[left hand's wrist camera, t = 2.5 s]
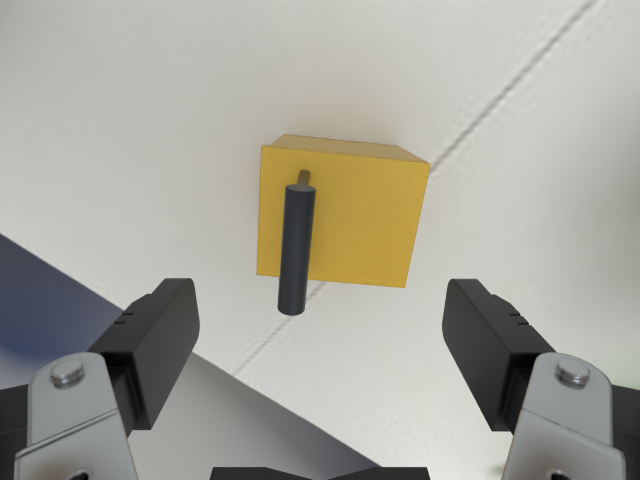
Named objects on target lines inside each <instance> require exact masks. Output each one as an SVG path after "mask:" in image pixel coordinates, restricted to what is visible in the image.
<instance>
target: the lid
mask: <svg viewBox="0 0 640 480" xmlns="http://www.w3.org/2000/svg"><path fill="white" fill-rule="evenodd" d="M430 165H431V164H430V163H428V162H426V161H420V160H410V159H400V158H390V157H381V156H371V155H361V154H351V153H341V152H331V151H321V150H311V149H302V148H292V147H282V146H272V145H263V146H262V147H261V170H260V197H259V223H258V250H257V275H264V276H275V277H279V293H278V310H279V311H280V312H281V313H283V314H285V315H290V316H294V315H299V314H301V313H303V312H304V310H305V301H306V291H307V280H308V279H309V280H320V281H331V282H343V283H354V284H365V285H376V286H388V287H399V288H405V284H406V279H407V275H408V270H409V265H410V260H411V255H412V251H413V246H414V241H415V236H416V232H417V227H418V222H419V217H420V212H421V208H422V203H423V198H424V193H425V189H426V184H427V179H428V174H429V169H430Z"/></svg>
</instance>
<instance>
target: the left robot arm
mask: <svg viewBox="0 0 640 480" xmlns="http://www.w3.org/2000/svg"><path fill="white" fill-rule="evenodd" d="M199 329H200V322H199V314H198V308H197V301H196V294H195V287H194V283H193V280H192V279H190V278H166V279H164V280H163V281H162V282H161V284H160V285H159V286H158V287H157V288H156V289H155V290H154V291H153V293H152V294H146V295H145V296H143V297H141V298H139V299H138V300H136V301H134V302H133V303H131V304H130V306H129V307H128V308H127V309H126V310H125V311H124V312H123V313H122V315H121V316H119V317H118V318H117V319H116V320H115V321H114V324H112V325H111V326H110V327H109V328H108V329H107V330H106V331H105V332H104V333H103V334H102V335H101V336H100V337H99V338H98V340H97V341H96V342H95V343H94V344H93V345H92V346H91V347H90V348H89V349H88V350H87V351H86V352H84V353H77V354H72V355H69V356H65V357H63V358H60V359H58V360H56V361H53V362H52V363H50V364H48V365H47V366H45V367H44V368H42V369H41V370H40V371H38V372H37V373H36V374H35V375H34V376H33V377H32V379H31V380H30V382H29V384H26V385H21V386H17V387H12V388H7V389H2V390H0V480H139V478H138V475H137V471H136V468H135V464H134V461H133V457H132V454H131V450H130V447H129V443H128V440H127V439H128V437H129V435H130V433H131V432H132V430H151V429H152V427H153V425H154V423H155V421H156V419H157V417H158V415H159V413H160V411H161V409H162V408H163V406H164V404H165V402H166V400H167V398H168V396H169V394H170V392H171V390H172V388H173V386H174V384H175V382H176V381H177V379H178V377H179V375H180V373H181V371H182V369H183V367H184V365H185V363H186V361H187V359H188V357H189V355H190V353H191V352H192V350H193V348H194V346H195V344H196V342H197V339H198V336H199ZM442 331H443V337H444V340H445V343H446V345H447V347H448V349H449V350H450V352H451V354H452V356H453V358H454V360H455V362H456V364H457V366H458V368H459V370H460V371H461V373H462V375H463V377H464V379H465V381H466V383H467V385H468V387H469V389H470V391H471V392H472V394H473V396H474V398H475V400H476V402H477V404H478V406H479V408H480V410H481V412H482V413H483V415H484V417H485V419H486V421H487V423H488V425H489V427H490V429H491V431H511V433H512V435H513V440H512V443H511V447H510V450H509V454H508V457H507V461H506V464H505V468H504V471H503V475H502V478H501V480H640V390H635V389H630V388H626V387H621V386H616V385H612V384H611V382H610V380H609V379H608V377H607V376H606V375H605V374H604V373H603V372H602V371H600V370H599V369H598V368H597V367H595V366H594V365H592V364H590V363H588V362H587V361H584V360H582V359H580V358H577V357H575V356H571V355H568V354H563V353H557V352H556V351H555V350H554V349H553V348H552V347H551V346H550V345H549V344H548V343H547V342H546V341H545V339H544V338H543V337H542V336H541V335H540V334H539V333H538V332H537V331H536V330H535V329H534V328H533V327H532V326H531V325H529V323H528V322H527V321H526V319H525V318H524V317H523V316H520V313H519V312H518V311H517V310H516V309H515V308H514V307H513V306H512V305H511V304H510V303H509V302H507V301H505V300H503V299H502V298H500V297H498V296H497V295H491V294H490V293H489V292H488V291H487V289H486V288H485V287H484V286H483V285H482V284H481V283H480V282H479V281H478V280H477V279H451V280H450V281H449V283H448V287H447V294H446V300H445V307H444V314H443V321H442ZM210 480H311V479H308V478H304V477H300V476H297V475H293V474H289V473H285V472H282V471H278V470H274V469H270V468H267V467H213V470H212V473H211V477H210ZM329 480H430V477H429V473H428V470H427V467H373V468H370V469H366V470H362V471H359V472H355V473H351V474H347V475H343V476H340V477H336V478H332V479H329Z"/></svg>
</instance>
